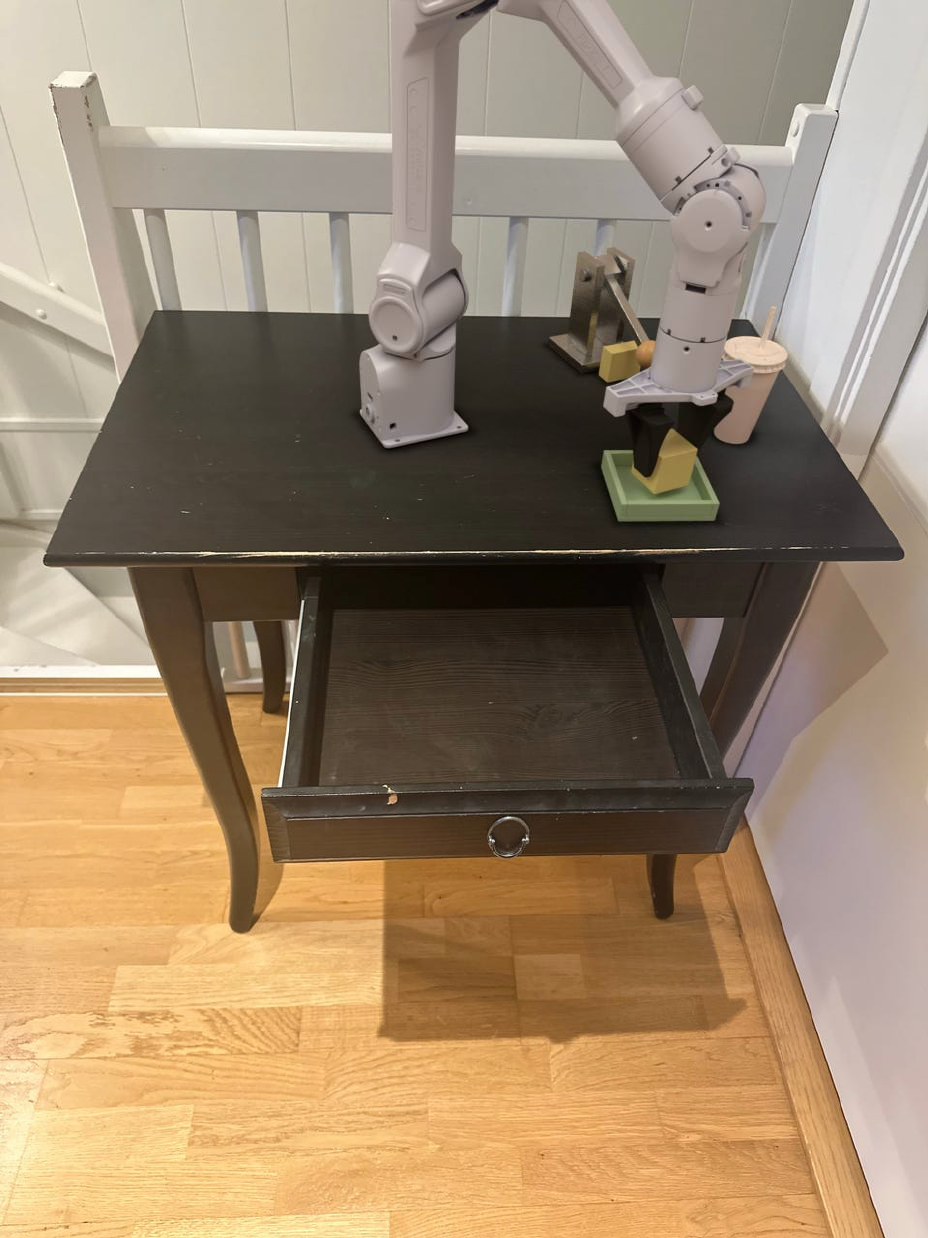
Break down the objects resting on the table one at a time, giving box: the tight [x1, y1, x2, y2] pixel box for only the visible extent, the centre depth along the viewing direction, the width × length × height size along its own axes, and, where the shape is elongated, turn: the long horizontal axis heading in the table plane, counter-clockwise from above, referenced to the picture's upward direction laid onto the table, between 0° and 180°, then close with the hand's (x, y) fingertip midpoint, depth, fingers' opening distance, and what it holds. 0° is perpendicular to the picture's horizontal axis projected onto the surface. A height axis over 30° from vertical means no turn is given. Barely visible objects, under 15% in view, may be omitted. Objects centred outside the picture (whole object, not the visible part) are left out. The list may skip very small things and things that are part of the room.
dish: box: [600, 449, 721, 522], centre depth 81 cm, size 9×9×2 cm
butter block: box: [598, 340, 641, 384], centre depth 98 cm, size 2×4×4 cm, turn 115°
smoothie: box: [713, 305, 789, 445], centre depth 85 cm, size 6×6×14 cm
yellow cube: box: [631, 428, 698, 494], centre depth 79 cm, size 4×4×4 cm
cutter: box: [547, 246, 636, 375], centre depth 99 cm, size 8×8×12 cm
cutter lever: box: [593, 253, 656, 370], centre depth 95 cm, size 15×3×3 cm, turn 25°
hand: (661, 466), depth 80 cm, fingers closed on yellow cube, 4 cm apart
